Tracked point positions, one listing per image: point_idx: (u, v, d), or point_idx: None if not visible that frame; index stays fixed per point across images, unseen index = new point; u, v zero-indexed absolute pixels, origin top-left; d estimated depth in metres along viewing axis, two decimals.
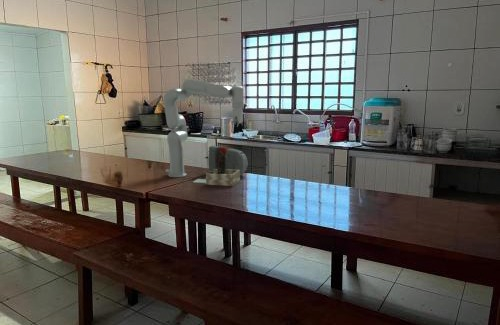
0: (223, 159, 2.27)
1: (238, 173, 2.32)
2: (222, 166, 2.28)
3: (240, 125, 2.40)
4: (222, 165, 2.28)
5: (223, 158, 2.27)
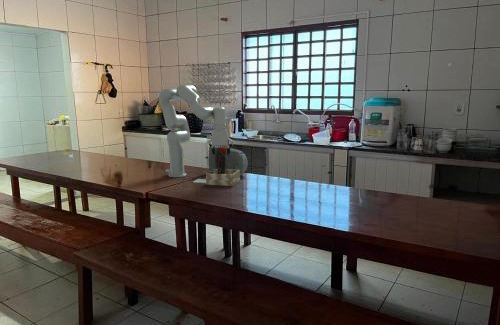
0: (223, 159, 2.27)
1: (238, 173, 2.32)
2: (222, 166, 2.28)
3: (214, 148, 2.29)
4: (222, 165, 2.28)
5: (223, 158, 2.27)
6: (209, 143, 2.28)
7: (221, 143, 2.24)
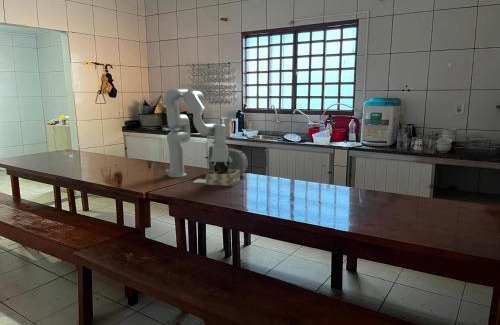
0: None
1: (238, 173, 2.32)
2: (222, 166, 2.28)
3: (216, 164, 2.31)
4: (222, 165, 2.28)
5: None
6: (211, 161, 2.30)
7: (221, 160, 2.26)
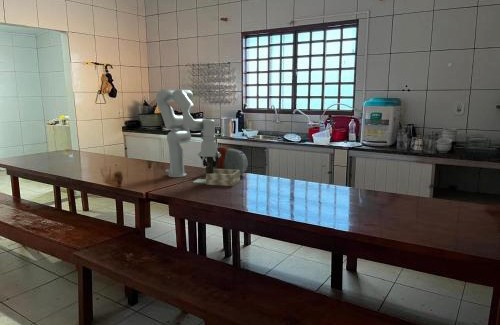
0: None
1: (238, 173, 2.32)
2: (210, 161, 2.29)
3: None
4: (210, 160, 2.29)
5: None
6: (200, 155, 2.32)
7: (210, 154, 2.28)
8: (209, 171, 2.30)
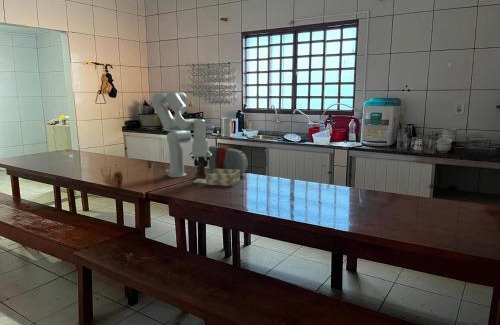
0: None
1: (238, 173, 2.32)
2: (201, 161, 2.30)
3: (196, 159, 2.34)
4: (201, 160, 2.30)
5: None
6: (191, 155, 2.33)
7: (201, 154, 2.29)
8: (200, 171, 2.31)
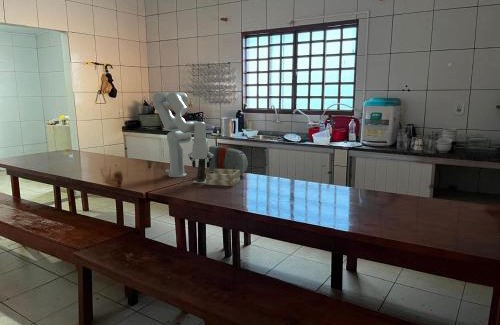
0: None
1: (238, 173, 2.32)
2: (202, 165, 2.31)
3: (194, 161, 2.34)
4: (202, 164, 2.31)
5: None
6: (189, 156, 2.33)
7: (201, 157, 2.29)
8: (200, 175, 2.32)
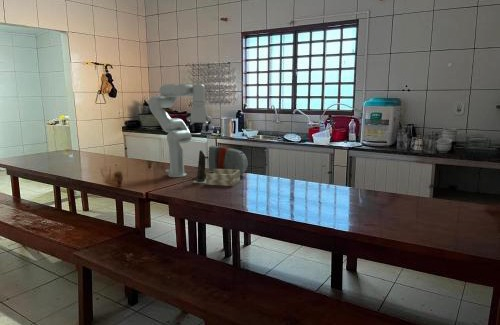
0: (203, 158, 2.30)
1: (238, 173, 2.32)
2: (202, 165, 2.31)
3: (193, 125, 2.31)
4: (202, 164, 2.31)
5: (203, 157, 2.30)
6: (188, 120, 2.30)
7: (199, 120, 2.26)
8: (200, 175, 2.32)
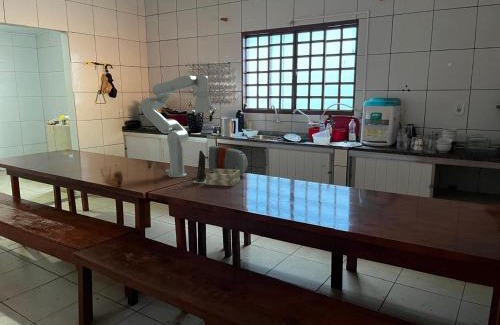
0: (203, 158, 2.30)
1: (238, 173, 2.32)
2: (202, 165, 2.31)
3: (197, 115, 2.39)
4: (202, 164, 2.31)
5: (203, 157, 2.30)
6: (192, 110, 2.38)
7: (204, 110, 2.34)
8: (200, 175, 2.32)
